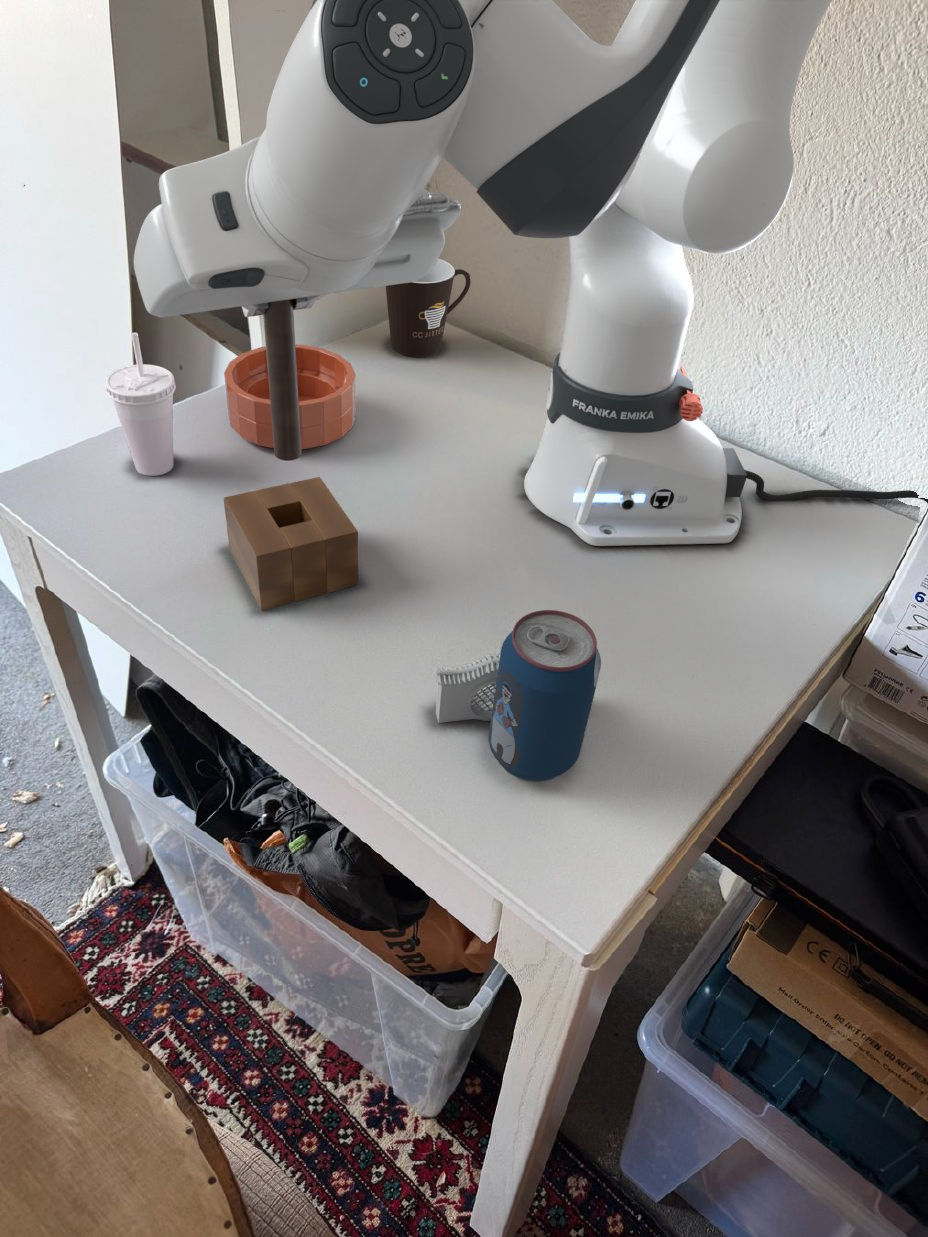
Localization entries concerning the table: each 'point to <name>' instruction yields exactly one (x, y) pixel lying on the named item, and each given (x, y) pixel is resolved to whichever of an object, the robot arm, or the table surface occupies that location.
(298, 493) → the stand
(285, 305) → the stick
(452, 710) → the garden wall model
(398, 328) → the coffee mug
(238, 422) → the bowl
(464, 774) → the table surface
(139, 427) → the smoothie
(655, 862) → the table surface
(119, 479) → the table surface
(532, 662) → the soda can
